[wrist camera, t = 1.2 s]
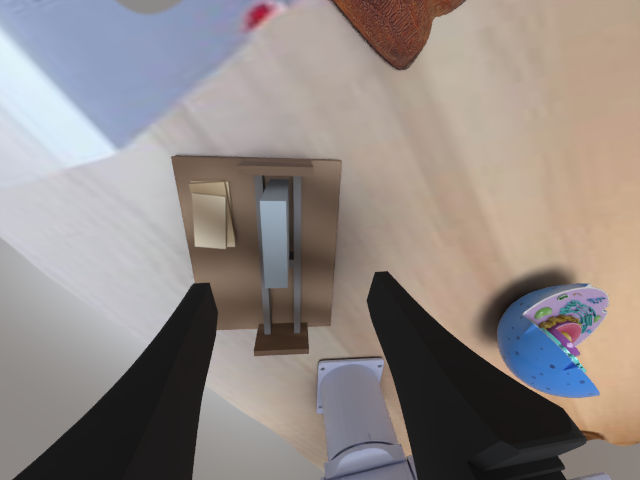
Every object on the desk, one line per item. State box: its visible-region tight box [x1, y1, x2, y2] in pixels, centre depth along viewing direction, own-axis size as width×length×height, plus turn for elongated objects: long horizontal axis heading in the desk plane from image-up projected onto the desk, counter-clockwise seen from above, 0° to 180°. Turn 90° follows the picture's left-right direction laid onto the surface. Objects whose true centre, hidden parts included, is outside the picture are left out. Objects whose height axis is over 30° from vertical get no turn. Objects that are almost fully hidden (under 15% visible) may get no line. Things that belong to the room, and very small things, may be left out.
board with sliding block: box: [171, 155, 342, 356], centre depth 22 cm, size 17×13×4 cm
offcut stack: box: [189, 180, 236, 249], centre depth 21 cm, size 6×3×2 cm, turn 178°
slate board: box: [260, 179, 289, 288], centre depth 19 cm, size 6×2×6 cm, turn 178°
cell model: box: [497, 283, 609, 398], centre depth 26 cm, size 10×12×10 cm
